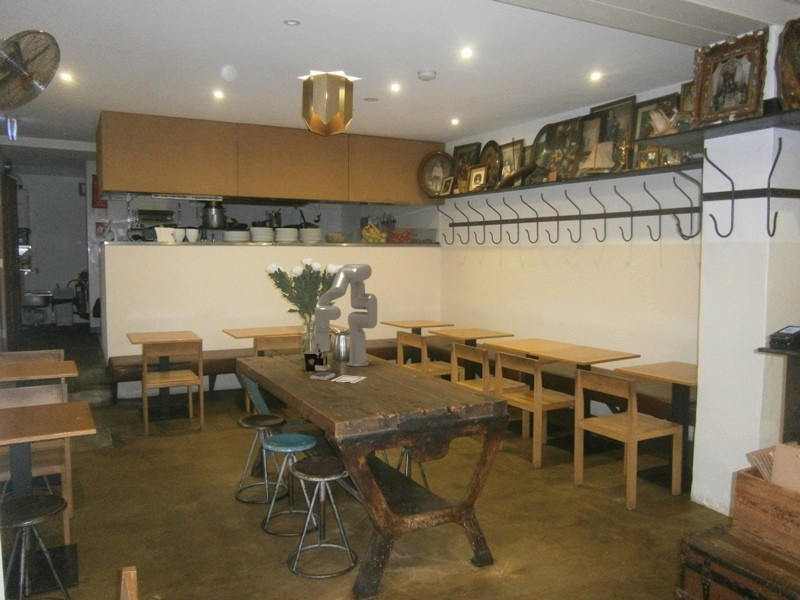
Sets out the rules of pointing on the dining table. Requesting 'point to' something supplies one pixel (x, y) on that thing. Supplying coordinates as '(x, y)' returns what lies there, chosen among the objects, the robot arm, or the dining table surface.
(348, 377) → the paper sheet
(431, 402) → the dining table surface
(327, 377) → the ink pad
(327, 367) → the stamp
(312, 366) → the coffee mug
